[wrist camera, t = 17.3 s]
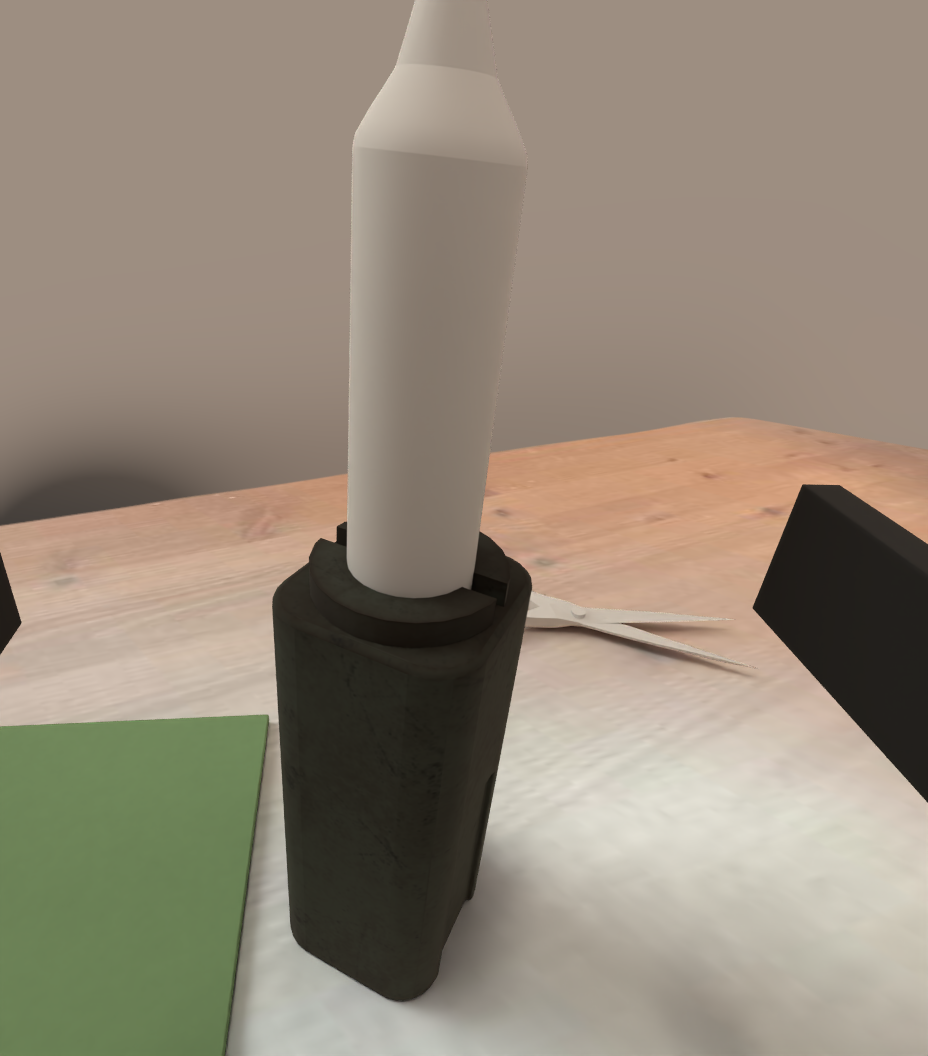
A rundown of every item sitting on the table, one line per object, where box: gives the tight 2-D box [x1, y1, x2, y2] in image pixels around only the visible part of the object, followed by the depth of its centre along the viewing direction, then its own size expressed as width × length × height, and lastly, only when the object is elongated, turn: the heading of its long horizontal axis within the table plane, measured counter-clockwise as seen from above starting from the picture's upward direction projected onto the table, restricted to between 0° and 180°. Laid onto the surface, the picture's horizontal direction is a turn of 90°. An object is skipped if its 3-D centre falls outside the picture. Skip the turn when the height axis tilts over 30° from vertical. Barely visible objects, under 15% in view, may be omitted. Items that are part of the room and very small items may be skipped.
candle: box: [272, 0, 532, 1001], centre depth 15 cm, size 5×5×25 cm
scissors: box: [525, 591, 758, 669], centre depth 35 cm, size 11×1×20 cm
